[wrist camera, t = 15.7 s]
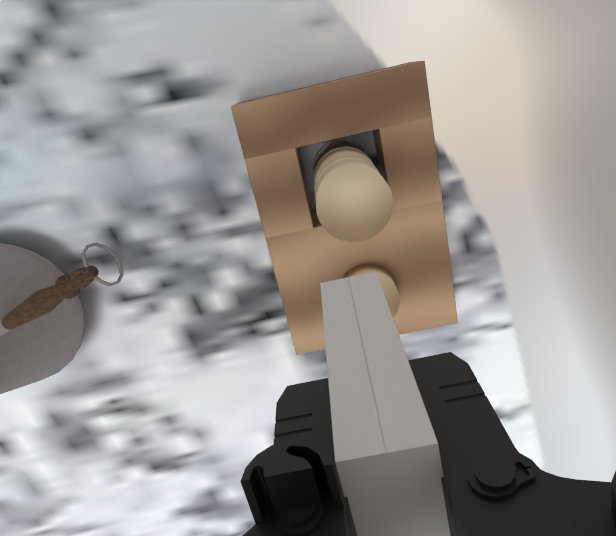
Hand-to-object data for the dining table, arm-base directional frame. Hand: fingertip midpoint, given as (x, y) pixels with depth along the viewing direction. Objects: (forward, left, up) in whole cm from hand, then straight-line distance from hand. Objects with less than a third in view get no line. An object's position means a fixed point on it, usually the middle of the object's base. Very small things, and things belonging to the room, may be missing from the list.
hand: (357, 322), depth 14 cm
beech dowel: (0, +1, -24) cm, 24 cm away
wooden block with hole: (+3, +1, -24) cm, 25 cm away
